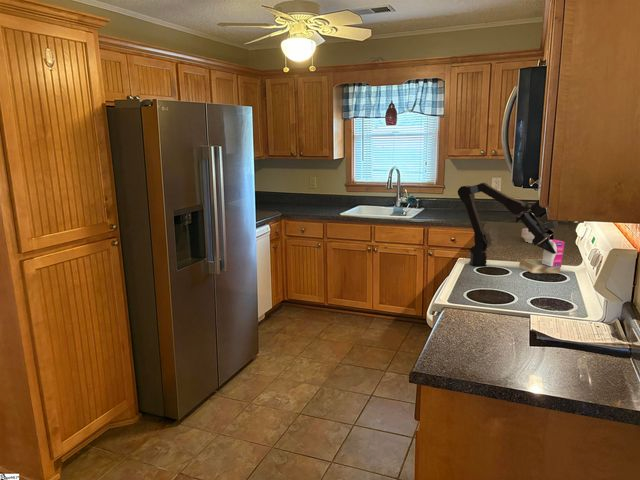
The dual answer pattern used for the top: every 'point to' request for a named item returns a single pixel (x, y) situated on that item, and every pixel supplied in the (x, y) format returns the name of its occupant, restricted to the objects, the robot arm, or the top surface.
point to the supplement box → (556, 258)
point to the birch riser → (537, 266)
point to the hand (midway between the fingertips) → (556, 251)
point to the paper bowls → (527, 235)
